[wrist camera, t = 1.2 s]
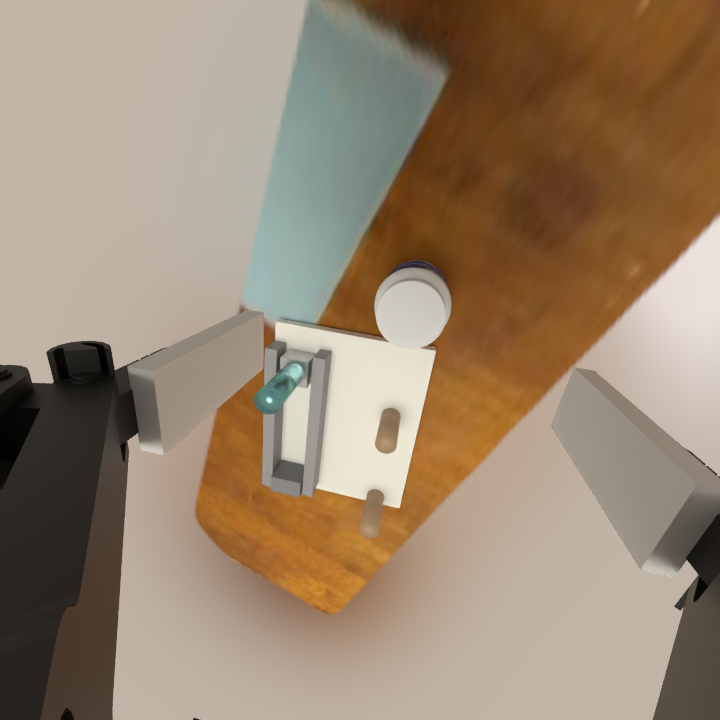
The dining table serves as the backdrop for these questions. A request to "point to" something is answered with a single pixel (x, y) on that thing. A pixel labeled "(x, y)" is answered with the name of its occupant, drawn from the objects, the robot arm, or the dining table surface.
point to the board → (346, 417)
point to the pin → (285, 381)
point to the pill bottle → (412, 305)
